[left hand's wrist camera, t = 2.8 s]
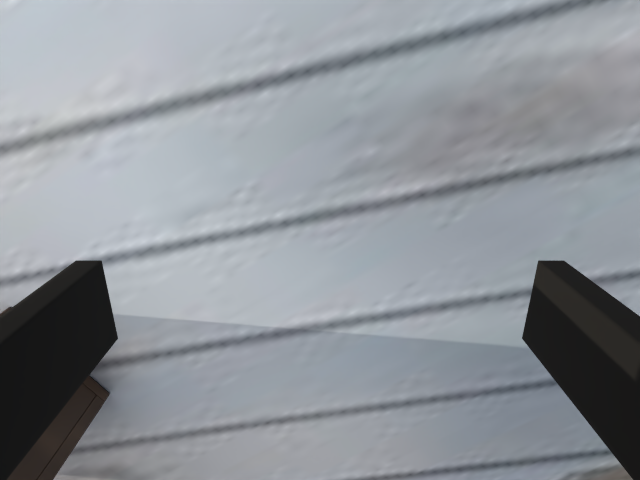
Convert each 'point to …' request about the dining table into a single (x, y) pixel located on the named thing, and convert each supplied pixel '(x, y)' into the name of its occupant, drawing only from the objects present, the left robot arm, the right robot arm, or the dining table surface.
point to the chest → (61, 433)
